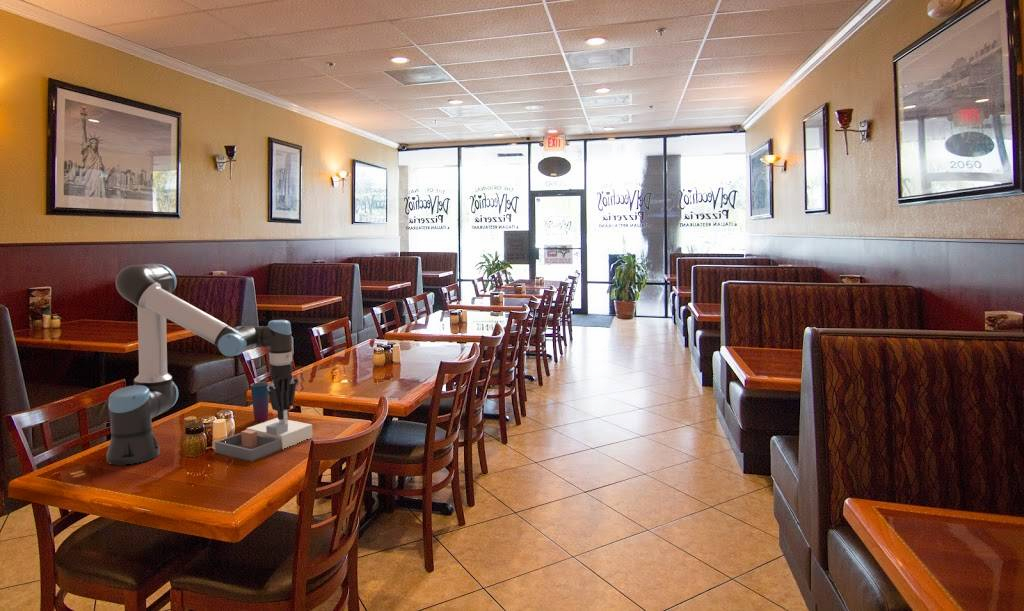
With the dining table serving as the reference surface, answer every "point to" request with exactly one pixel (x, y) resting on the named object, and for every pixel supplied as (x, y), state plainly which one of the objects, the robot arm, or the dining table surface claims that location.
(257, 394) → the cup
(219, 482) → the dining table surface
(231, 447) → the box
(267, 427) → the slate tile
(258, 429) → the raised board
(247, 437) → the terracotta tile
